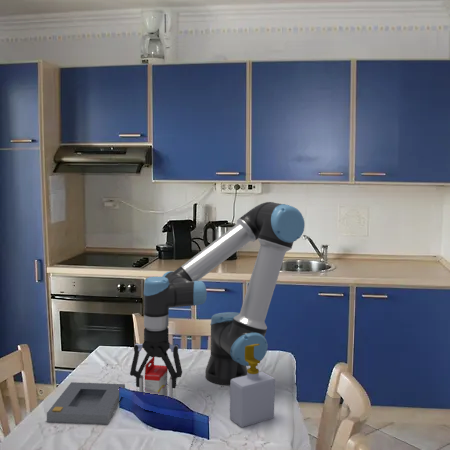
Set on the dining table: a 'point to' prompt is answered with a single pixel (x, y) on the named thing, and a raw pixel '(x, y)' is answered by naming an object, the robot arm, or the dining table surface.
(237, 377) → the robot arm
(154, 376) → the ink box
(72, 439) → the dining table surface
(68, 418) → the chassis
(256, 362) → the soap bottle
